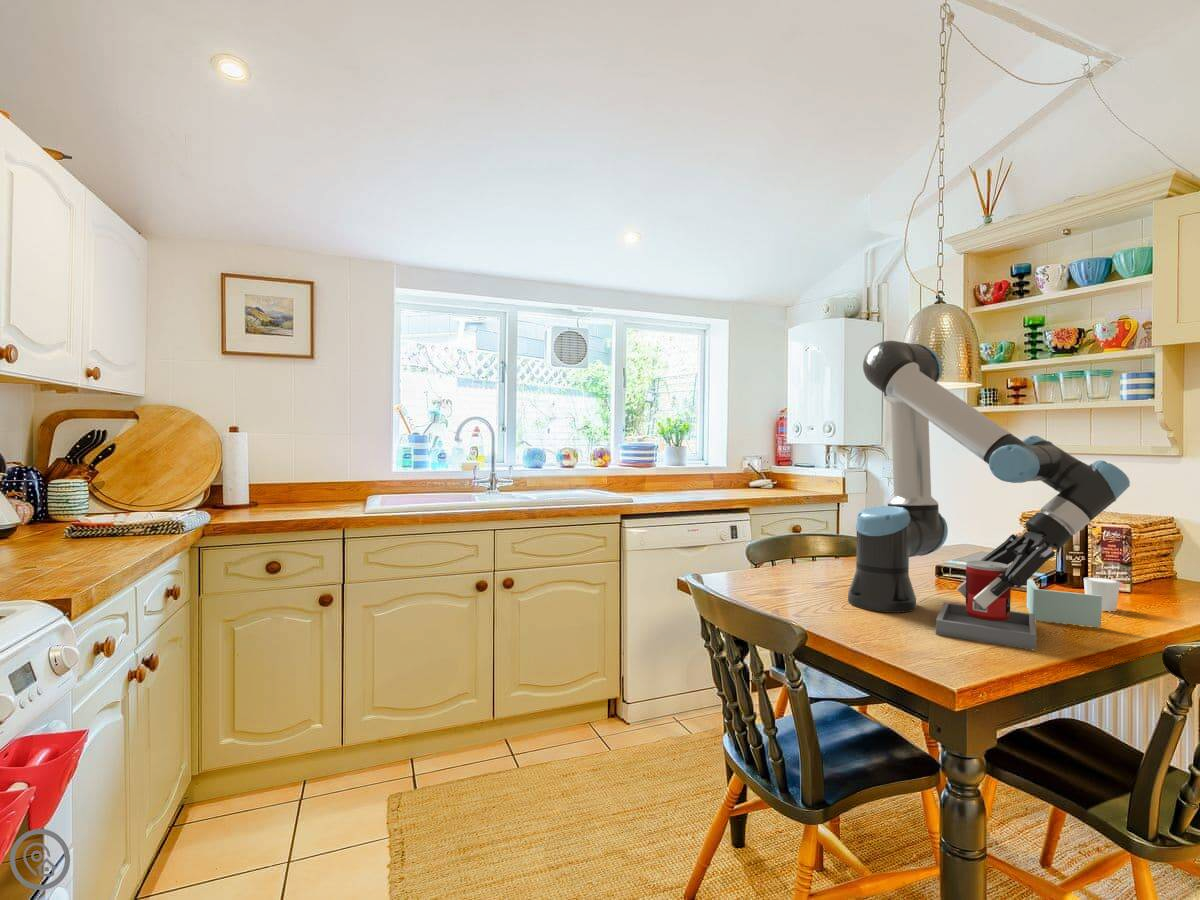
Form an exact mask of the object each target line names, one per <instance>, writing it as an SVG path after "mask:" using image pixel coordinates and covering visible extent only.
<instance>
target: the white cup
mask: <svg viewBox="0 0 1200 900" xmlns="http://www.w3.org/2000/svg"><path fill="white" fill-rule="evenodd" d="M1120 585H1121V582H1120V581H1118V580H1116V579H1110V578H1106V577H1105V578H1104V577H1098V576H1097V577H1094V576H1087V577H1083V587H1084V594H1092V595H1101V596H1102V604H1101V611H1116V612H1117V606H1118V600H1119V599H1118V598H1119V591H1120V588H1121V587H1120Z"/></svg>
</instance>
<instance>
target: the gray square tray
mask: <svg viewBox="0 0 1200 900" xmlns="http://www.w3.org/2000/svg"><path fill="white" fill-rule="evenodd" d="M1036 625H1037V624H1036V621H1035V614H1030V613H1029V612H1021V611H1014V610H1010V617H1009V619H1008V620H1006V621H989V620H982V619H977V618H974V617H971V616H969V615H968V614H967V612H966V604H961V603H953V602H946V601H944V602H943V603H942V606H941V607H940V610H939V612H938V614H937V616H936V619H935V635H937V636H942V637H950V638H956V639H963V640H967V641H974V642H981V643H986V644H987V643H988V644H993V645H999V646H1005V647H1011V648H1016V647H1018V648H1017V649H1023V648H1027V649H1026V650H1029V649H1034V650H1033V651H1035V650H1036V651H1037V628H1036V627H1037V626H1036Z"/></svg>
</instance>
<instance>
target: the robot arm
mask: <svg viewBox="0 0 1200 900" xmlns="http://www.w3.org/2000/svg"><path fill="white" fill-rule="evenodd" d="M942 363H943V362H942V360H941V358H940V357H939V355H938V354H937V352H935V350H933V349H932V348H930V347H928V346H926V345H923V344H920V343H908V342H902V341H897V340H884V341H881V342H879V343H876V344H875V345H873V346H872V347H871V348H870V349H869V350H868V351H867V353H866V354H865V356H864V359H863V362H862V369H863V373H864V376H865V378H866V379H867V381H868V382H869V383H870V384H871V385H873V386H874V387H876V389H878V390H879V391H880V392H882V393H883V397H884V399H885V400H886V401H887V402H889V404H890V413H891V414H890V416H891V417H890V418H891V419H890V420H891V421H890V423H891V445H892V446H891V448H892V449H891V450H892V477H893V479H892V480H893V481H892V482H893V483H892V484H893V496H892V498H891V499H889V500H888V502H887V505H880V506H871V507H870V506H869V507H866V508H863V509H861V510H860V511H859V512H858V513H857V517H856V525H855V529H856V541H855V542H856V545H855V547H856V549H855V550H856V551H855V552H856V553H855V554H856V561H855V563H856V564H855V566H856V568H855V572H854V573H855V574H854V576H853V577H852V581H851V583H850V585H849V589H848V593H847V602H848V603H849V604H851V605H852V606H855V607H857V608H860V609H861V608H862V609H865V610H869V611H876V612H884V613H908V612H912V611H915V610H916V609H917V597H916V594H915V593H916V592H915V591H914V587H913V584H912V582H911V579H910V575H909V569H910V567H909V565H910V559H909V558H912V557H918V556H920V557H922V556H926V555H930V554H931V553H934V552H937V551H938V550H940V549H941V548H942V547H943V545H944V543H945V542H946V541H947V539H948V538H947V537H948V532H949V530H948V524H947V521H946V519H945V517H943V516H942V514H941V513H940V512H939V511H940V510H939V502H938V501H937V500H936V499H935V498H934V497H933V496H932V480H931V475H932V474H931V448H930V425H929V424H930V423H932V424H933V425H935V427H937V428H938V429H940V430H941V431H943V432H944V433H946V435H949V437H951V438H952V439H954V440H955V441H956V442H958V443H959V444H960V445H961V446H963V447H964V448H966V449H967V450H968V451H970V452H971V453H973V454H974V455H975V456H977V457H978V458H979V459H981V460H982V461H983V462H985V463H986V464H987V465H988V467H989V470H990V472H991V473H992V475H993V476H994V477H995V478H996V479H998V480H1000V481H1003V482H1006V483H1010V484H1011V483H1012V484H1022V483H1026V482H1027V483H1028V482H1037V481H1041V482H1042V483H1043V484H1045V485H1047V486H1049V487H1050V488H1052V489H1053V490H1055V491H1056V492H1059V493H1058V494H1056V495H1055V496H1054V497H1053V498H1051V499H1050V500H1049V501H1048V502H1047V503H1045V504H1044V505H1043V506H1042V507H1041V508H1040V511H1039V512H1035V514H1033V516H1031V517H1030V518H1029V519H1028V520H1027V521H1025V528H1026V529H1027V530H1026V532H1025V533H1023V534H1021V535H1020V536H1016V534H1013V533H1012V534H1010V535H1009V537H1008V538H1007V539H1006V540H1004V542H1002V543H1001V544H1000V545H998V546H997V547H996V548H994V549H993V550H992V551H990V552H989V553H988V554H987V555H985V556H984V557H982V558H981V559H980V560H979V561H991V562H998V563H1003V564H1007V565H1009V568H1008V569H1007V570H1006V572H1005V573H1004V574H999V575H998V576H999V577H1000V578H1002V580H1001V579H1000V578H999V577H997V578H996V579H995V580H993V581H992V582H991V583H990V584H989V585H988V586H986V587H985V588H984V589H983V590H982V591H981V592H980V593H978V594H977V595H976V596H975V597H974V598H973V599H974V600H975V601H976V602H977V603H978V604H979V605H980V606H981V607H982V608H984V609H985V608H986V607H987V606H989V605H990V604H991V603H992V602H993V601H994V600H996V599H997V598H998V597H999V596H1000V595H1001V594H1002V593H1004V592H1005V591H1006V590H1007V589H1008V588H1009V587H1011V588H1014V587H1015V586H1016V588H1021V587H1022V586H1024V584H1025V583H1027V580H1028V579H1031V577H1032V576H1033V575H1034V574H1035V573H1036V572H1038V570H1039V569H1040V568H1041V567H1042V566H1043V565H1044V564H1045V563H1046V562H1047V561H1049V560H1050V559H1052V558H1053V557H1054V556H1055V555H1056V552H1055V551H1054V550H1058V549H1061V548H1062V547H1063V546H1064V545H1065V544H1067V543H1068V542H1069V541H1070V540H1071V539H1072V536H1075V535H1076V534H1078V533H1079V532H1080V531H1084V530H1085V527H1086V526H1087V525H1088V524H1089V523H1090V522H1092V521H1093V519H1095V518H1096V517H1098V515H1100V514H1101V513H1102V512H1103V511H1104V510H1106V509H1107V508H1108V507H1110V506H1111V505H1112V504H1113V503H1115V502H1116V501H1117V499H1118V498H1119V497H1120V496H1121V495H1123V493H1124V492H1126V490H1127V489H1128V488H1129V487H1130V485H1131V484H1130V483H1131V482H1130V478H1129V477H1128V475H1127V474H1126V473H1125V472H1124V471H1123V470H1121V469H1120V468H1119V467H1118V466H1116V465H1114V464H1113V463H1109V462H1107V461H1105V460H1096V461H1095V462H1093V463H1090V464H1087V463H1086V462H1084V461H1083V462H1082V461H1081V460H1079V459H1078V458H1076V457H1075V456H1072V455H1071V454H1069V452H1066V451H1064V450H1063V449H1061V448H1060V447H1058V446H1056V445H1055V444H1054V443H1053V442H1051V441H1049V440H1047V439H1045V438H1042V437H1041V436H1039V435H1030V436H1028V437H1027V438H1025V439H1023V440H1021V439H1019V438H1018V437H1017V436H1015V435H1014V434H1012V433H1011V432H1010V431H1008V430H1007V429H1006V428H1004V427H1002V426H1001V425H999V424H998V423H996V422H995V421H993V420H992V419H991V418H989V417H988V416H986V414H983V413H982V412H980V411H979V410H977V409H976V408H974V406H971V405H970V404H969V403H967V402H965V401H964V400H963V399H961V398H960V397H958V396H957V395H955V394H954V393H953V392H951V391H950V390H948V389H947V388H945V387H944V386H942V385H941V384H939V383H938V381H939V380H940V379H941V377H942V373H943V364H942ZM929 422H930V423H929ZM1053 549H1054V550H1053ZM956 590H957V591H958V593H960V594H961V595H962V596H963V597H964V598H965V599H966V579H964V581H962V583H960V584H959V585H958V586H957V587H956Z"/></svg>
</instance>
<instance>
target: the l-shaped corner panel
mask: <svg viewBox="0 0 1200 900" xmlns="http://www.w3.org/2000/svg"><path fill="white" fill-rule="evenodd" d="M1101 604H1102V596H1101V595H1092V594H1085V593H1081V592H1070V591H1061V590H1060V591H1059V590H1051V589H1040V588H1039V587H1038V585H1037V584H1036V583H1035V580H1034V579H1033V578H1029V579H1028V580H1027V581H1026V609H1027V608H1028V609H1027V611H1028V610H1029V611H1028V613H1029V612H1030V613H1029V614H1035V620H1039V621H1038V622H1043V621H1048V622H1047V623H1051V622H1056V623H1055V624H1059V623H1065V624H1064V625H1067V624H1075V625H1083V626H1082V627H1084V626H1092V627H1101V628H1102V612H1101ZM1075 625H1074V626H1075ZM1092 627H1091V628H1092Z"/></svg>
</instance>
